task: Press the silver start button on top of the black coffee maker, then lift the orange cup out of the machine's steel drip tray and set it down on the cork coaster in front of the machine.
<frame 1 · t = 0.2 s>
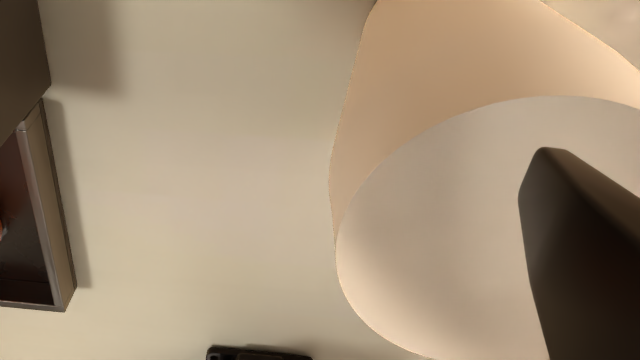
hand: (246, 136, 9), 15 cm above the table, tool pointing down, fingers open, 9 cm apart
cup: (442, 42, 24), on the table
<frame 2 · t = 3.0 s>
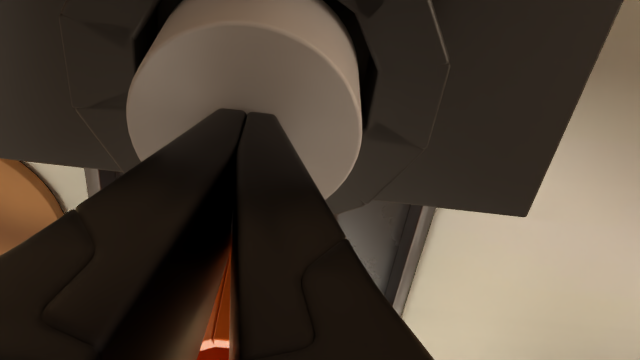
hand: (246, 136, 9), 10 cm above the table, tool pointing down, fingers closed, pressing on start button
drip tray: (263, 213, 23), on the table
start button: (252, 101, 10), point 9 cm above the table, slide at 0.0 cm, touching gripper
orange cup: (260, 244, 24), resting on drip tray
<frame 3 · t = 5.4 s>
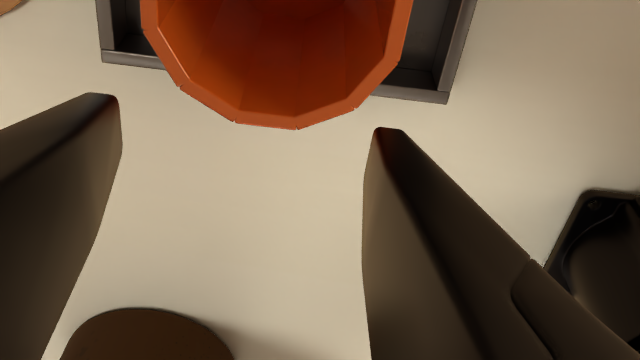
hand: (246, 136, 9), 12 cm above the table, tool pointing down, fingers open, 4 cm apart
olive oil: (155, 358, 33), on the table
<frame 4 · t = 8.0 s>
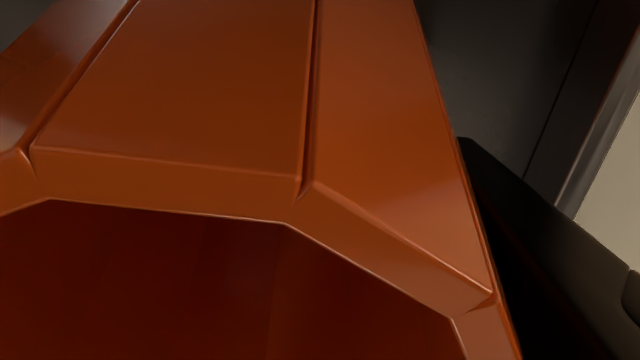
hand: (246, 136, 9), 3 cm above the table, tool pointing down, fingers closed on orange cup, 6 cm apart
orange cup: (259, 73, 11), resting on drip tray, touching gripper
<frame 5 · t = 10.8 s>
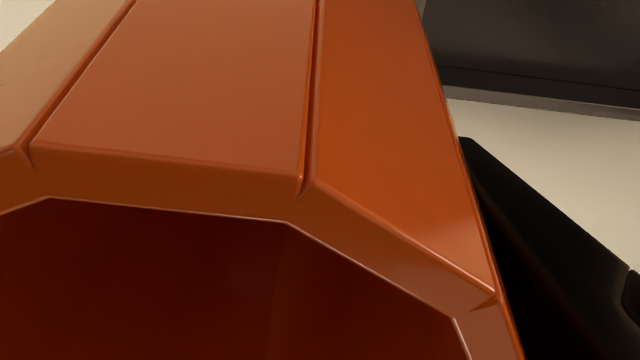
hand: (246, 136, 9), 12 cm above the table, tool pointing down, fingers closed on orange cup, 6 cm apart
orange cup: (259, 72, 11), point 10 cm above the table, touching gripper
when the fingers open (3 cm above the table, at t = 13.6 s): orange cup stays where it is, resting on cork coaster.
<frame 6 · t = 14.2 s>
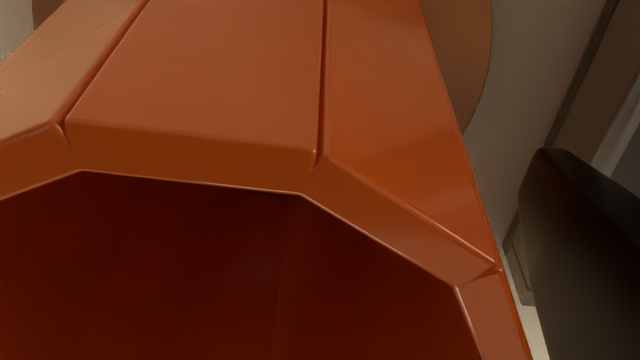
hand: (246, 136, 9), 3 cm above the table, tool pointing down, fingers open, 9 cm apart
cork coaster: (265, 55, 11), on the table
orange cup: (265, 66, 11), resting on cork coaster
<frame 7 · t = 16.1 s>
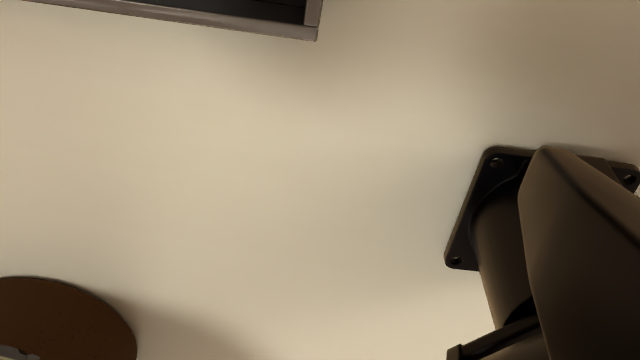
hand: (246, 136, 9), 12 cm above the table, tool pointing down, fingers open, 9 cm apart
olive oil: (50, 332, 31), on the table
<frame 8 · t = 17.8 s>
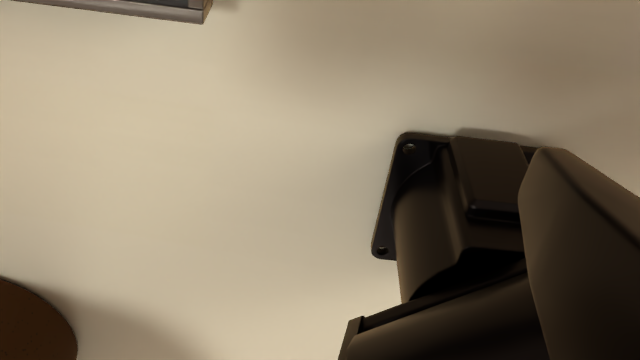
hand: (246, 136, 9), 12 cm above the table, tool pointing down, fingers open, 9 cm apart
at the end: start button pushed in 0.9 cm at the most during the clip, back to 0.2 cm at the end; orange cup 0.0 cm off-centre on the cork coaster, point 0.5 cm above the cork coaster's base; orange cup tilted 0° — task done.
